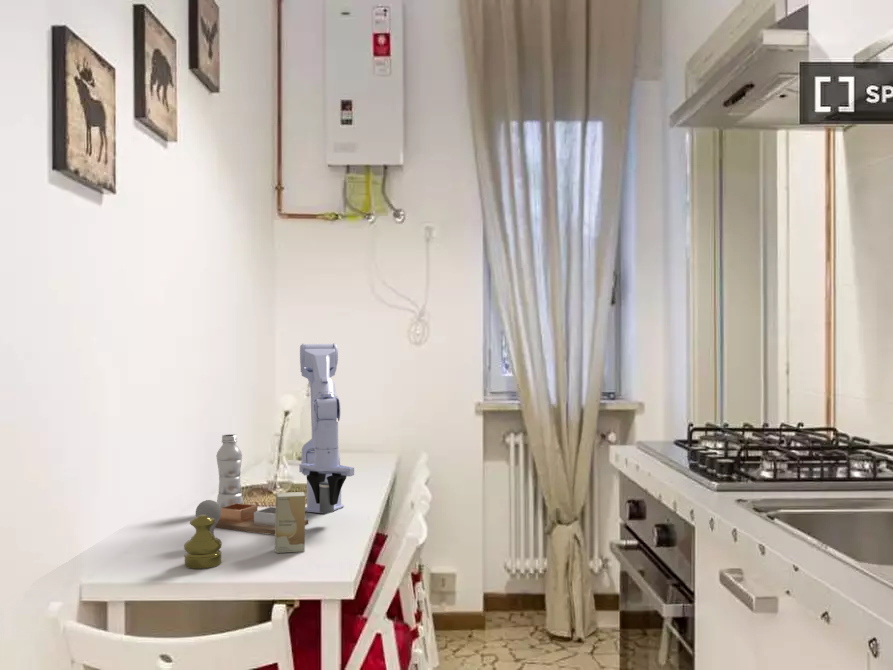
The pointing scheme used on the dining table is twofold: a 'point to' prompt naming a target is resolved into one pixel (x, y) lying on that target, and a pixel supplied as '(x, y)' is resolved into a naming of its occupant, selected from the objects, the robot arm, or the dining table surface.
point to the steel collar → (265, 517)
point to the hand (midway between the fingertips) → (326, 503)
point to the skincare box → (290, 522)
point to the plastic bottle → (229, 472)
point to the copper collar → (238, 512)
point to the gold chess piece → (202, 545)
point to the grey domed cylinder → (325, 498)
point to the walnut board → (248, 526)
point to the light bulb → (209, 511)
